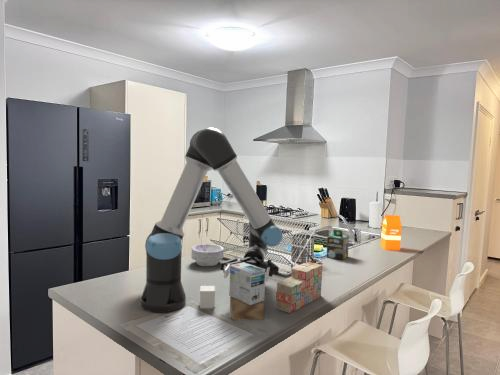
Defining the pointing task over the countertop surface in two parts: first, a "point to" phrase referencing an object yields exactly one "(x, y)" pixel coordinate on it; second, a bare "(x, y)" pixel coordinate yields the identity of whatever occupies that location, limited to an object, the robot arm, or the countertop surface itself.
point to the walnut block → (246, 310)
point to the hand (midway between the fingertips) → (245, 275)
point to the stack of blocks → (299, 287)
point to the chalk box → (337, 245)
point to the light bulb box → (247, 283)
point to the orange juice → (391, 232)
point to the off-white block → (207, 296)
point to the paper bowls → (207, 254)
